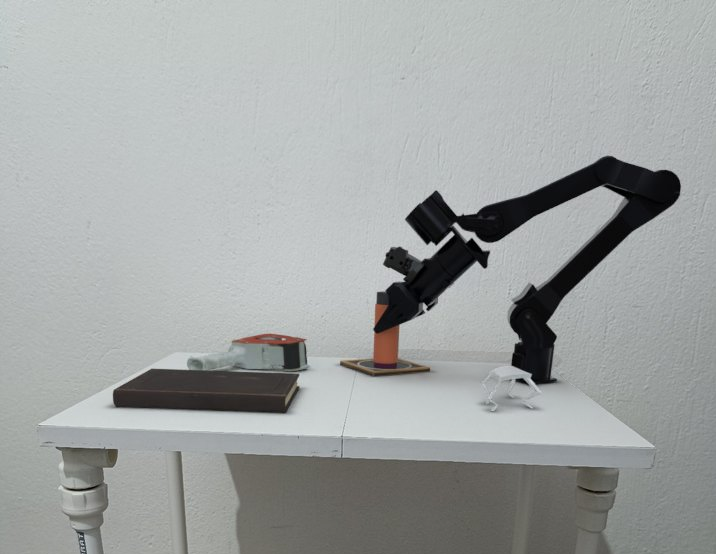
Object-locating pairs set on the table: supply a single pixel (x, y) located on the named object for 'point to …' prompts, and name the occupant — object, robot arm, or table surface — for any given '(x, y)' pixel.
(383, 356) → the dot marker
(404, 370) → the square coaster
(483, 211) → the robot arm
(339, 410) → the table surface
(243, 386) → the hardcover book
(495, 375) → the white legged figure
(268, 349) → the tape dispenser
